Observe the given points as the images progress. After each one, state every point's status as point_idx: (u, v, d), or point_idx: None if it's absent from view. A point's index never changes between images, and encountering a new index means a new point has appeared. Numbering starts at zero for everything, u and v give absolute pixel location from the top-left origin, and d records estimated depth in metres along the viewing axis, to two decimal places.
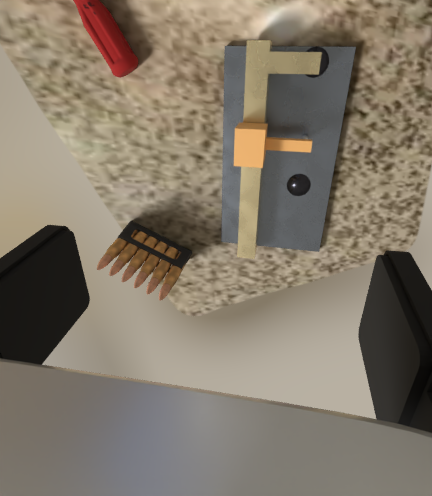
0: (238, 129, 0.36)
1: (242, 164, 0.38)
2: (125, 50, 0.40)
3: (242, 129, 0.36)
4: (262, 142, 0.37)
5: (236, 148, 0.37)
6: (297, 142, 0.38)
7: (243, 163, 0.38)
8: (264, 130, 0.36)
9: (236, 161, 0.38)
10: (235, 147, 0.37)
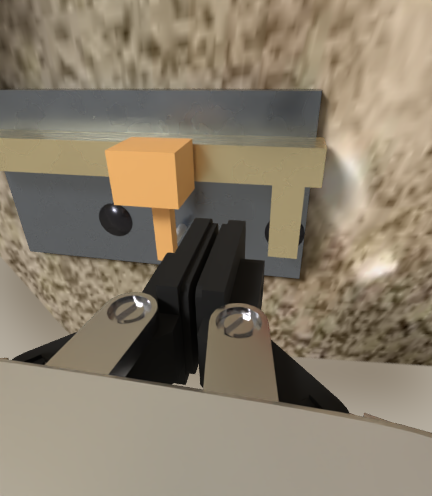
0: (173, 160, 0.18)
1: (111, 168, 0.19)
2: None
3: (174, 167, 0.19)
4: (156, 203, 0.20)
5: (138, 156, 0.19)
6: (169, 241, 0.24)
7: (113, 169, 0.19)
8: (177, 207, 0.20)
9: (114, 156, 0.19)
10: (139, 154, 0.19)
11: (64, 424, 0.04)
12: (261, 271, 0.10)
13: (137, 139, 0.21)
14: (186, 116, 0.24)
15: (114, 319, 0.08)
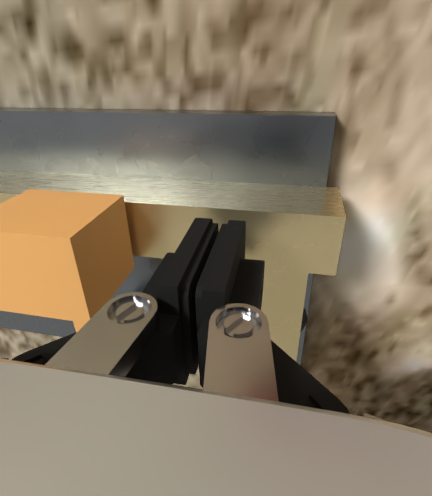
0: (70, 249, 0.10)
1: None
2: None
3: (74, 260, 0.10)
4: (54, 312, 0.12)
5: (10, 239, 0.10)
6: None
7: None
8: (89, 319, 0.12)
9: None
10: (12, 236, 0.10)
11: (64, 424, 0.04)
12: (261, 271, 0.10)
13: (34, 196, 0.13)
14: (126, 151, 0.16)
15: (114, 319, 0.08)
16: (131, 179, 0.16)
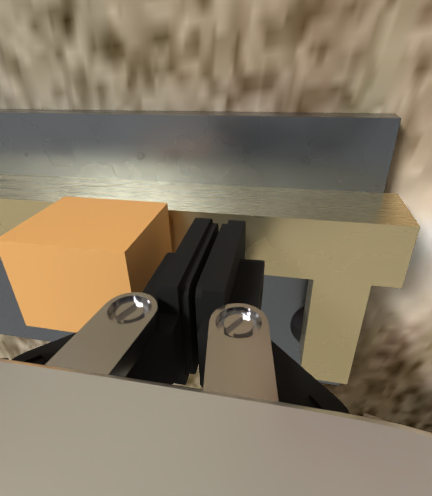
0: (123, 263, 0.09)
1: (11, 269, 0.10)
2: None
3: (127, 275, 0.10)
4: None
5: (56, 253, 0.10)
6: None
7: (16, 272, 0.10)
8: None
9: (13, 250, 0.10)
10: (59, 250, 0.10)
11: (64, 424, 0.04)
12: (261, 271, 0.10)
13: (72, 204, 0.12)
14: (168, 155, 0.15)
15: (114, 319, 0.08)
16: (173, 185, 0.15)
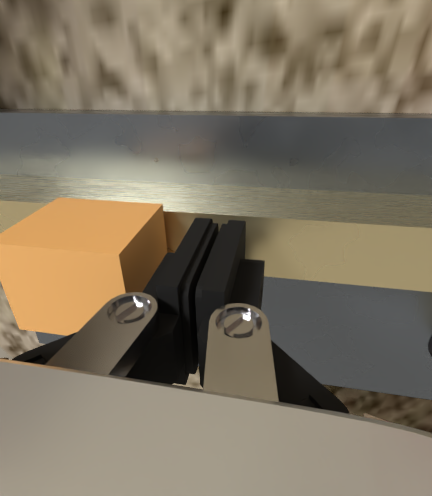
0: (118, 266, 0.09)
1: (4, 272, 0.10)
2: None
3: (121, 278, 0.09)
4: None
5: (49, 256, 0.09)
6: None
7: (8, 275, 0.10)
8: None
9: (5, 253, 0.10)
10: (52, 252, 0.09)
11: (64, 424, 0.04)
12: (261, 271, 0.10)
13: (65, 205, 0.12)
14: (327, 161, 0.13)
15: (114, 319, 0.08)
16: (331, 194, 0.14)
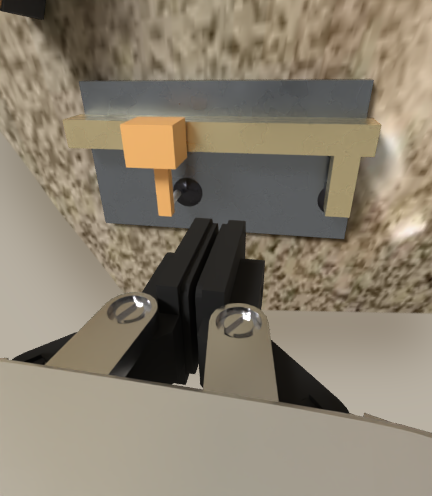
0: (171, 130, 0.25)
1: (124, 138, 0.26)
2: None
3: (172, 136, 0.25)
4: (159, 165, 0.26)
5: (145, 128, 0.25)
6: (168, 199, 0.30)
7: (126, 139, 0.26)
8: (174, 167, 0.26)
9: (127, 128, 0.26)
10: (146, 126, 0.25)
11: (64, 424, 0.04)
12: (261, 271, 0.10)
13: (142, 118, 0.28)
14: (259, 102, 0.29)
15: (114, 319, 0.08)
16: (261, 117, 0.29)
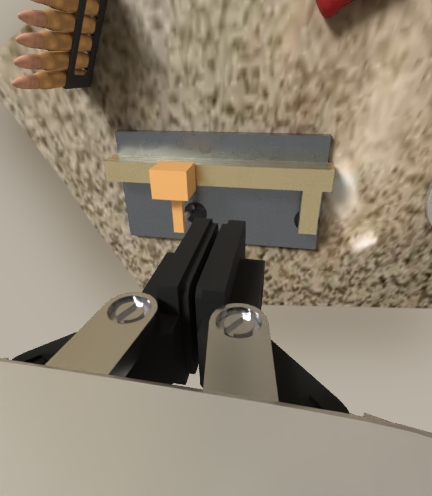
0: (185, 175, 0.35)
1: (152, 179, 0.36)
2: (343, 4, 0.30)
3: (186, 178, 0.36)
4: (176, 198, 0.37)
5: (166, 173, 0.36)
6: (181, 220, 0.41)
7: (153, 180, 0.36)
8: (187, 199, 0.37)
9: (154, 173, 0.36)
10: (167, 172, 0.36)
11: (64, 424, 0.04)
12: (261, 271, 0.10)
13: (164, 162, 0.38)
14: (249, 149, 0.40)
15: (114, 319, 0.08)
16: (250, 160, 0.40)
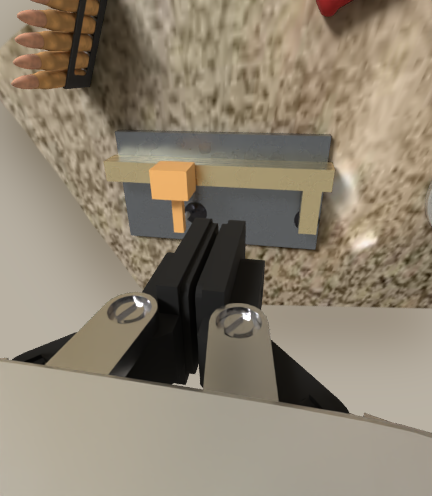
0: (185, 175, 0.35)
1: (152, 179, 0.36)
2: (342, 3, 0.30)
3: (186, 179, 0.36)
4: (176, 198, 0.37)
5: (166, 173, 0.36)
6: (181, 220, 0.41)
7: (153, 180, 0.36)
8: (187, 199, 0.37)
9: (153, 173, 0.36)
10: (167, 172, 0.36)
11: (64, 424, 0.04)
12: (261, 271, 0.10)
13: (164, 162, 0.38)
14: (249, 149, 0.40)
15: (114, 319, 0.08)
16: (250, 160, 0.40)
